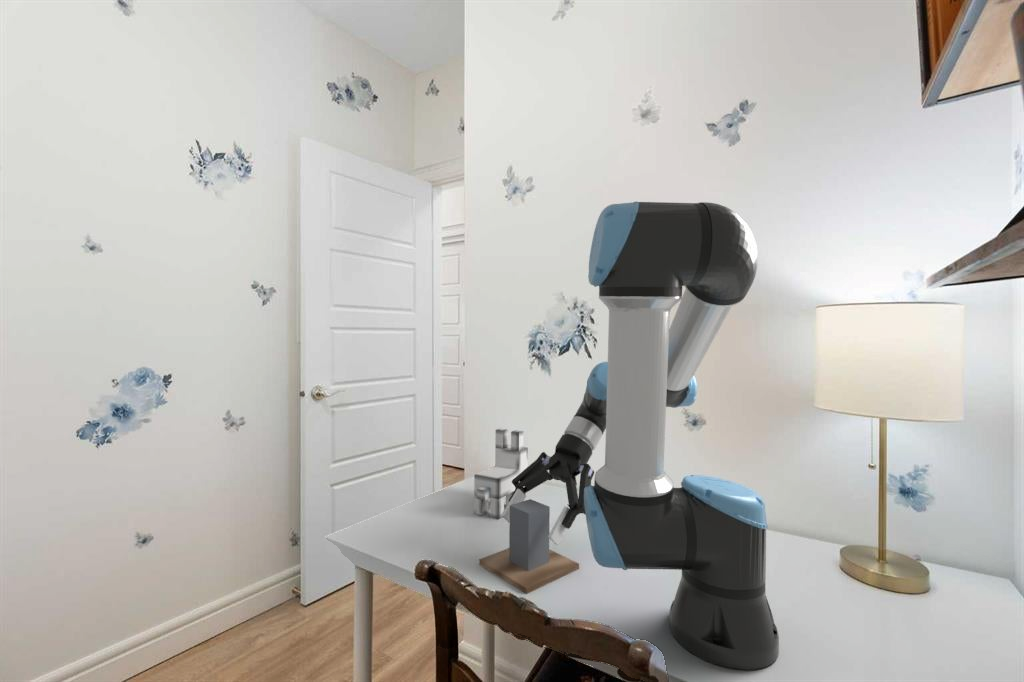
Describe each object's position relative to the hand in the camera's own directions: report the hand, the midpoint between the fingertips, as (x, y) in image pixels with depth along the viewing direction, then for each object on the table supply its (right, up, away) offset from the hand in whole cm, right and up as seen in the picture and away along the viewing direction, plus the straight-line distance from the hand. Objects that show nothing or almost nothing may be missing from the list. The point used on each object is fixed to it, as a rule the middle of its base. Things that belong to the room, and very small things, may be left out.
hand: (527, 529), depth 91 cm
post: (0, -7, 0) cm, 7 cm away
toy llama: (-7, -7, +31) cm, 33 cm away
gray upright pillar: (0, -6, 0) cm, 6 cm away
